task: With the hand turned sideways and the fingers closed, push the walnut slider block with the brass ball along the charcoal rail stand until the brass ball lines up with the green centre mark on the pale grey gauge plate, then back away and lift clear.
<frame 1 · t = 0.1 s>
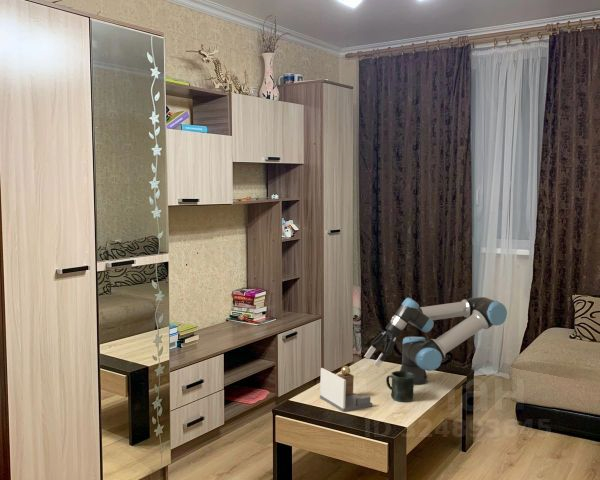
hand: (371, 361, 301), 15 cm above the table, tool tilted 35°, fingers open, 13 cm apart
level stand: (351, 401, 289), on the table
slider: (345, 379, 293), point 8 cm above the table, slide at -6.0 cm
mug: (399, 398, 295), on the table
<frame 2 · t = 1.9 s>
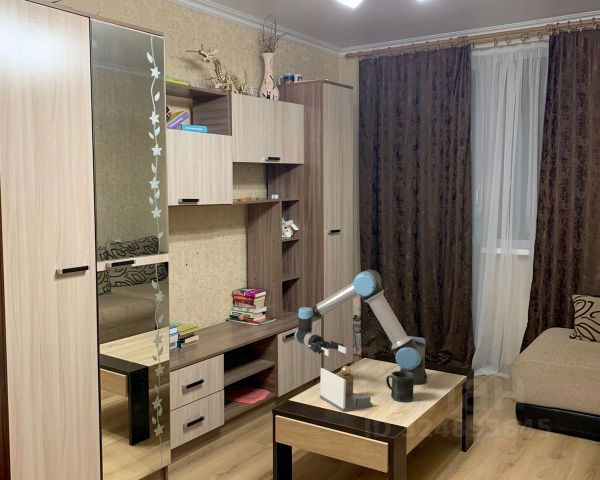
hand: (337, 352, 299), 20 cm above the table, tool horizontal, fingers open, 9 cm apart
nothing on the table moved.
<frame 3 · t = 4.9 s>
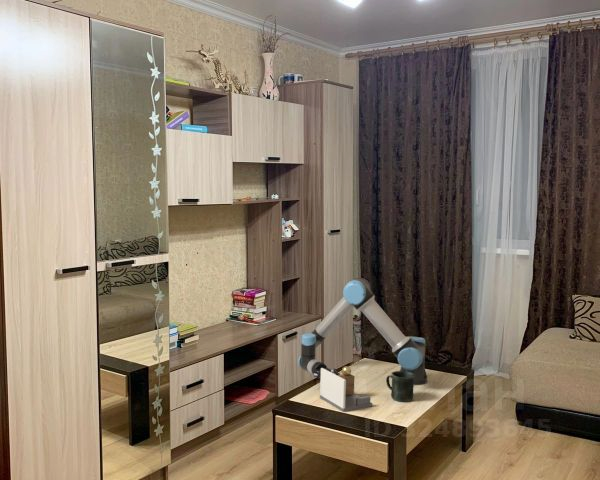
hand: (342, 381, 295), 7 cm above the table, tool horizontal, fingers closed
slider: (346, 380, 293), point 8 cm above the table, slide at -5.2 cm, touching gripper
everything else where it was.
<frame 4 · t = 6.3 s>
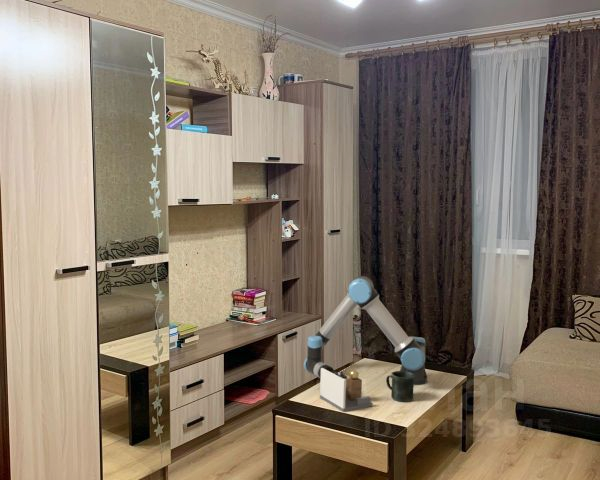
hand: (349, 385, 290), 7 cm above the table, tool horizontal, fingers closed
slider: (353, 383, 287), point 8 cm above the table, slide at 0.8 cm, touching gripper
everything else where it was.
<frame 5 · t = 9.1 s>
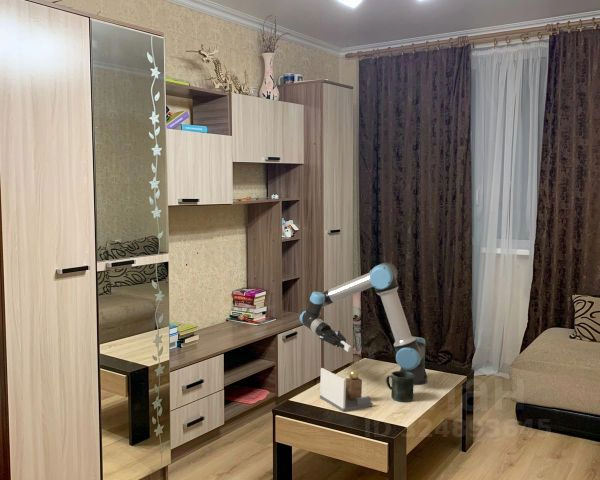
hand: (349, 349, 300), 21 cm above the table, tool horizontal, fingers closed
slider: (353, 383, 287), point 8 cm above the table, slide at 0.9 cm
everything else where it was.
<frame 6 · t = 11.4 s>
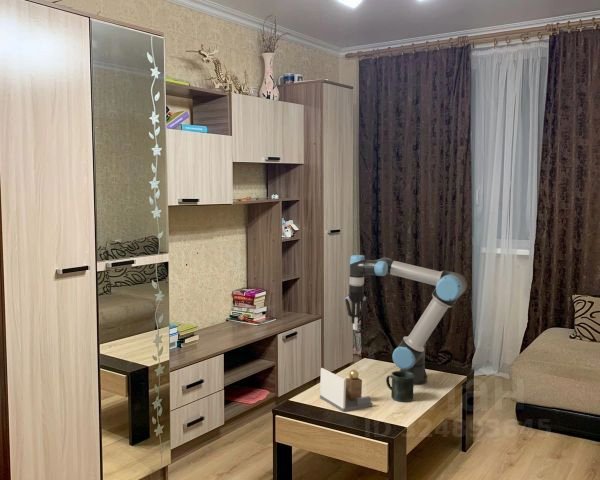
hand: (355, 329, 320), 26 cm above the table, tool pointing down, fingers closed
nothing on the table moved.
at the end: slider slide at 0.9 cm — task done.
